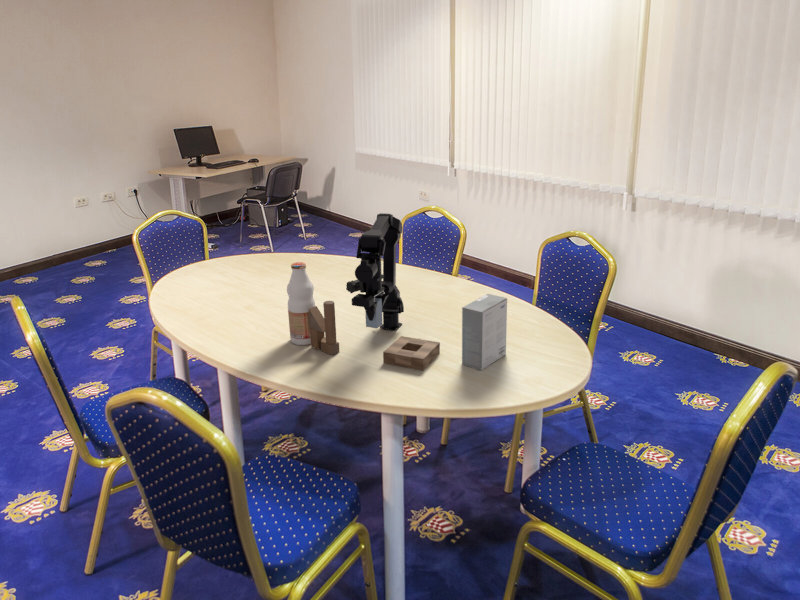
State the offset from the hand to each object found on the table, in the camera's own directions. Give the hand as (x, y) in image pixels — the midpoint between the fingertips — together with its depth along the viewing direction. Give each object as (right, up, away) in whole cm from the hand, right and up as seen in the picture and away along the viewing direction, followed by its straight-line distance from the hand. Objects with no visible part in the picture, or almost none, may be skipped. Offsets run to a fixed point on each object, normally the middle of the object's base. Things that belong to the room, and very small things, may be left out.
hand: (374, 318), depth 207 cm
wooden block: (-17, -11, +8) cm, 22 cm away
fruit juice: (-25, -8, +15) cm, 31 cm away
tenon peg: (0, -2, +1) cm, 2 cm away
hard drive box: (+36, -14, -2) cm, 38 cm away
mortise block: (+12, -13, 0) cm, 18 cm away
